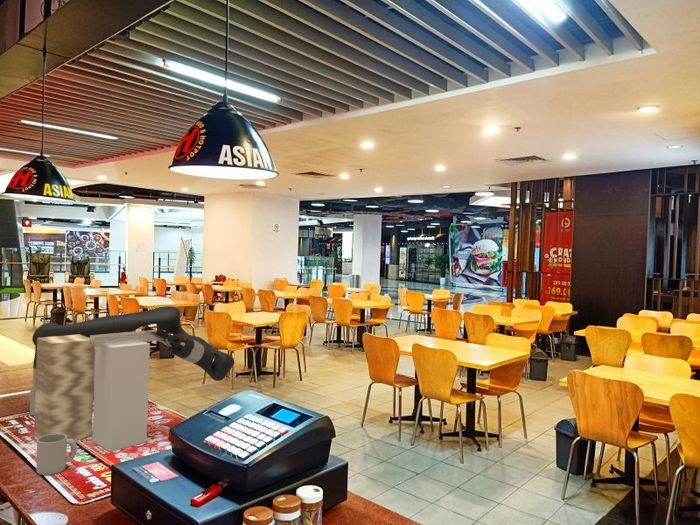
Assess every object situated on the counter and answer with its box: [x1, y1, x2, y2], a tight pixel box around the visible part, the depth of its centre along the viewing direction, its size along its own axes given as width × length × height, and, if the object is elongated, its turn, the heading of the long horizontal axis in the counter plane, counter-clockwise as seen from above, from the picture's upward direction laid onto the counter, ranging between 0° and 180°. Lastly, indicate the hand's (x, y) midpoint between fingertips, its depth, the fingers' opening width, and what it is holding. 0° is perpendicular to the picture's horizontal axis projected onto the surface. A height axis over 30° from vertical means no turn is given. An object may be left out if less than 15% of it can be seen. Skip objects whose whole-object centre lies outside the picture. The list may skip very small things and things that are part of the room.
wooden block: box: [90, 329, 166, 347], centre depth 168 cm, size 23×4×3 cm, turn 138°
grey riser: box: [92, 342, 151, 453], centre depth 167 cm, size 12×12×32 cm
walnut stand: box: [33, 334, 95, 441], centre depth 170 cm, size 13×13×32 cm
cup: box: [35, 434, 78, 476], centre depth 145 cm, size 7×10×9 cm
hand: (150, 329), depth 173 cm, fingers open, 8 cm apart
